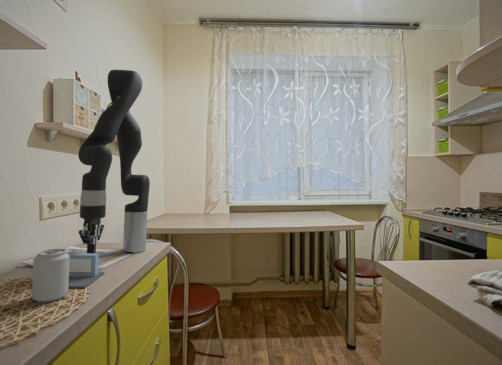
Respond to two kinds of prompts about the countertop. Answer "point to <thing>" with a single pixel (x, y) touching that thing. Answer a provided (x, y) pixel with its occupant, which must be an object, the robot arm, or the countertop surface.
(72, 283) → the mat
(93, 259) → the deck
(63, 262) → the can
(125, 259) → the countertop surface
